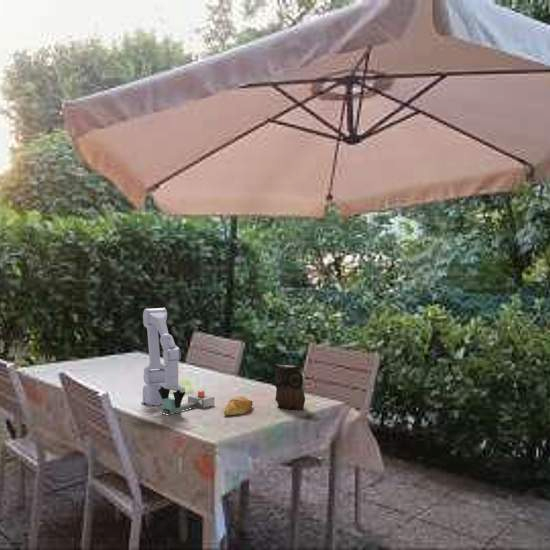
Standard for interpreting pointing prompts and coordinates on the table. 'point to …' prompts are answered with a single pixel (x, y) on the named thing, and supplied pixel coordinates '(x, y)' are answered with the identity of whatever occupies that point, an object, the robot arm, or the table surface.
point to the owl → (289, 387)
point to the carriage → (170, 405)
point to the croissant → (238, 406)
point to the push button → (201, 394)
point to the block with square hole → (202, 400)
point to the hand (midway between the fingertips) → (171, 406)
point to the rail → (183, 407)
